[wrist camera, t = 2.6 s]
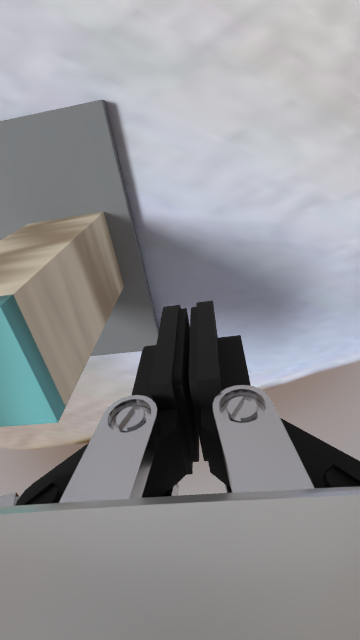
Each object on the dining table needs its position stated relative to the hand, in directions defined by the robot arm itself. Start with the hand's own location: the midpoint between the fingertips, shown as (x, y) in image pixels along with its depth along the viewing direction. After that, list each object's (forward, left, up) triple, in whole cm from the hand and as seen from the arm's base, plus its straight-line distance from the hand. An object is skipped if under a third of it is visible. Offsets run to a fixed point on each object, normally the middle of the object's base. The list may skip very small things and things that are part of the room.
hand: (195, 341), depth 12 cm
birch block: (+8, 0, -11) cm, 14 cm away
